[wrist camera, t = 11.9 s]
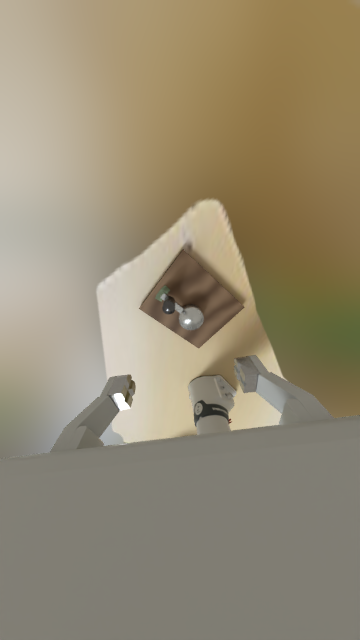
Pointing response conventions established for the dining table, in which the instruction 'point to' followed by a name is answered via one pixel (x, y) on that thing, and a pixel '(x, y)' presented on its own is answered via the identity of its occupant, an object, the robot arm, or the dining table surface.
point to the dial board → (192, 299)
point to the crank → (183, 312)
